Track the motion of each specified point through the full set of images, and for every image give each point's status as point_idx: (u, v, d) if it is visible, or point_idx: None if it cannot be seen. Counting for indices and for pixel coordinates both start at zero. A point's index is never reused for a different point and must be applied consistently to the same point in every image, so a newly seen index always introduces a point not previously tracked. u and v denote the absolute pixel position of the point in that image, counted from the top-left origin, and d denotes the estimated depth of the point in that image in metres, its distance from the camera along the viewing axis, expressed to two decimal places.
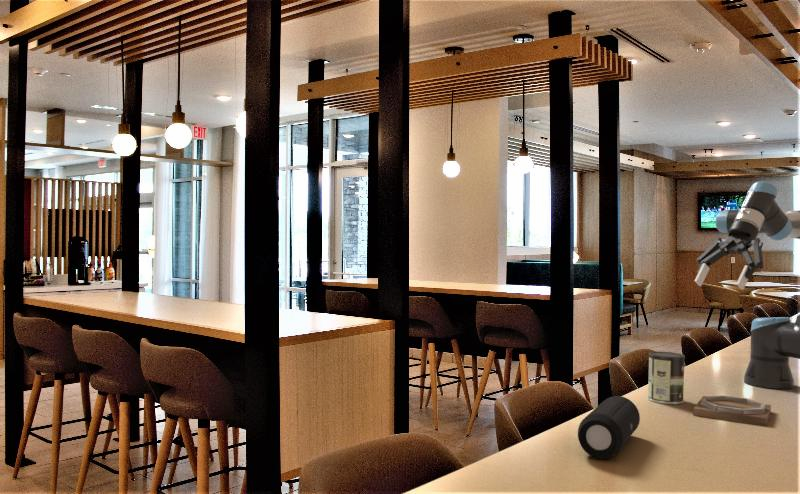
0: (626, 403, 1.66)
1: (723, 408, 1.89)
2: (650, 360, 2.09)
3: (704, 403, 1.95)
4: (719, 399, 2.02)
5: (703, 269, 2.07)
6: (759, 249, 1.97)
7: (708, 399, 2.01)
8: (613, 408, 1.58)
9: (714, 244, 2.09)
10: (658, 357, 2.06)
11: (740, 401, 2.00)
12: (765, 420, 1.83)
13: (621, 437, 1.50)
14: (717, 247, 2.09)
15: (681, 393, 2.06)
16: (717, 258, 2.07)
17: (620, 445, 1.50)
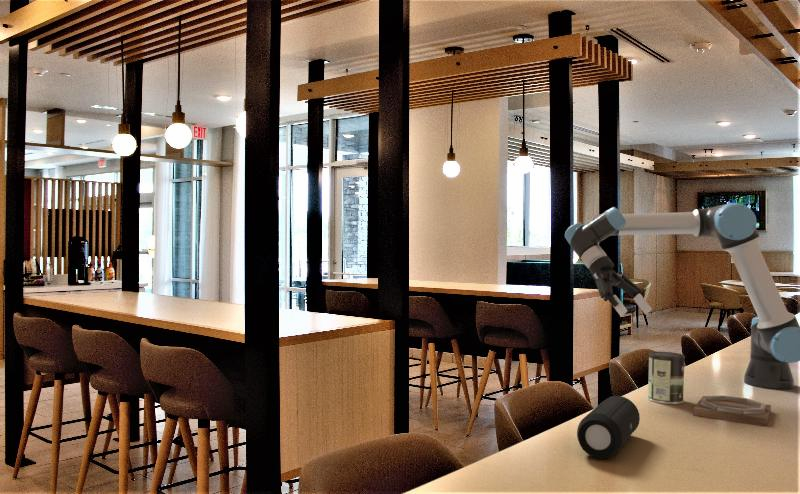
0: (626, 403, 1.66)
1: (723, 408, 1.89)
2: (650, 360, 2.09)
3: (704, 403, 1.95)
4: (719, 399, 2.02)
5: (637, 302, 2.24)
6: (597, 283, 2.19)
7: (708, 399, 2.01)
8: (613, 408, 1.58)
9: None
10: (658, 357, 2.06)
11: (740, 401, 2.00)
12: (765, 420, 1.83)
13: (620, 437, 1.50)
14: None
15: (681, 393, 2.06)
16: (628, 287, 2.25)
17: (619, 445, 1.50)
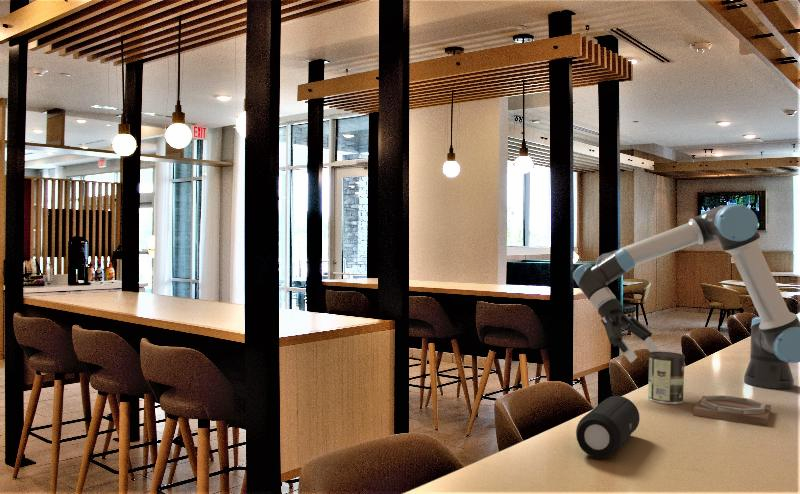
0: (626, 403, 1.66)
1: (723, 408, 1.89)
2: (650, 360, 2.09)
3: (704, 403, 1.95)
4: (719, 399, 2.02)
5: (647, 345, 2.20)
6: (606, 327, 2.16)
7: (708, 399, 2.01)
8: (612, 408, 1.59)
9: None
10: (658, 357, 2.06)
11: (740, 401, 2.00)
12: (765, 420, 1.83)
13: (619, 437, 1.50)
14: None
15: (681, 393, 2.06)
16: (637, 330, 2.21)
17: (618, 445, 1.50)
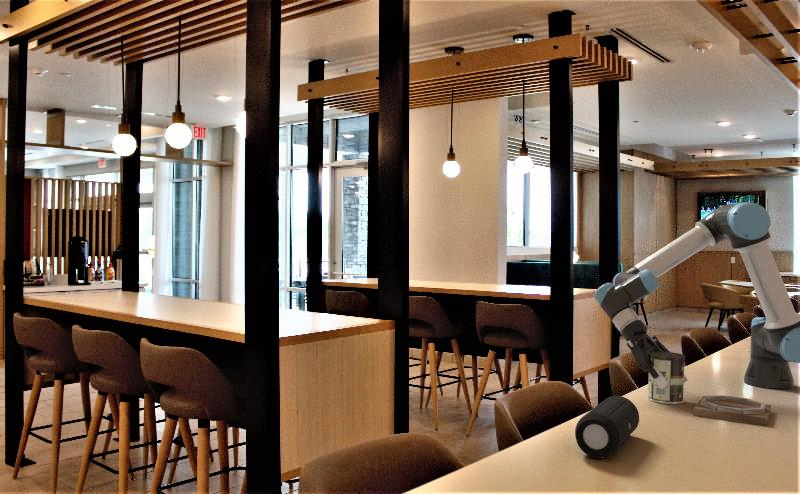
0: (625, 403, 1.66)
1: (723, 408, 1.89)
2: None
3: (704, 403, 1.95)
4: (719, 399, 2.02)
5: None
6: (634, 351, 2.10)
7: (708, 399, 2.01)
8: (611, 408, 1.59)
9: None
10: (658, 357, 2.06)
11: (740, 401, 2.00)
12: (765, 420, 1.83)
13: (618, 436, 1.50)
14: None
15: (681, 393, 2.06)
16: None
17: (617, 444, 1.50)
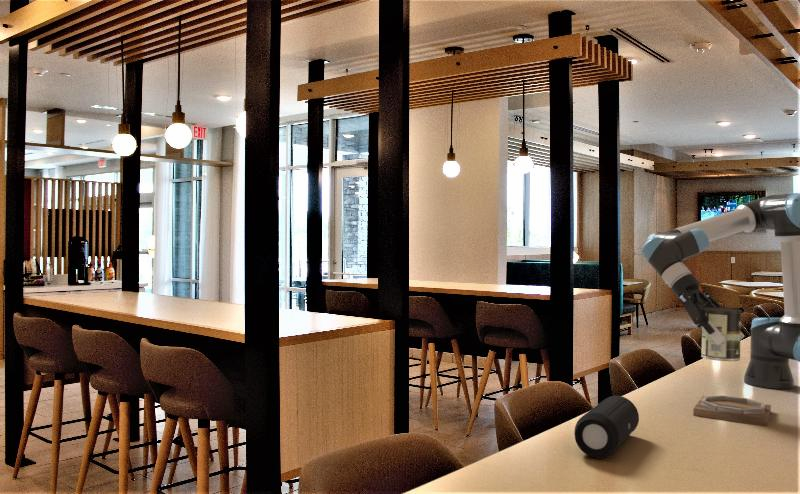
0: (625, 403, 1.66)
1: (723, 408, 1.89)
2: None
3: (704, 403, 1.95)
4: (719, 399, 2.02)
5: None
6: (686, 306, 1.97)
7: (708, 399, 2.01)
8: (610, 407, 1.59)
9: None
10: (713, 311, 1.93)
11: (740, 401, 2.00)
12: (765, 420, 1.83)
13: (617, 436, 1.50)
14: None
15: (738, 349, 1.93)
16: None
17: (616, 444, 1.50)
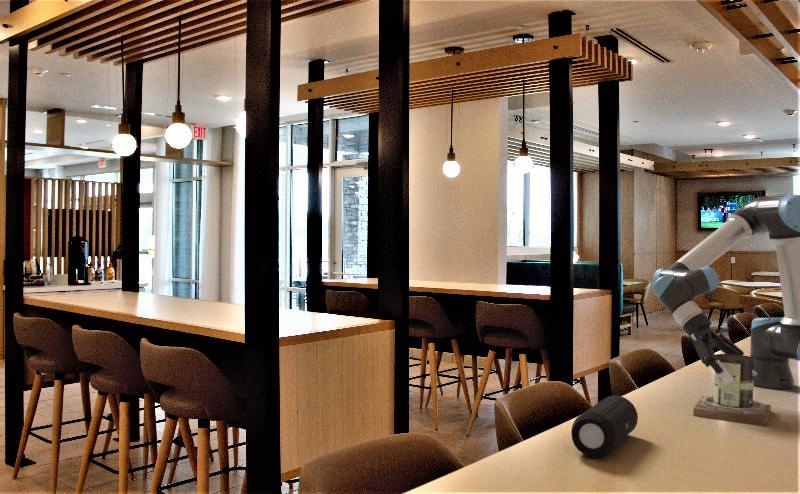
0: (623, 402, 1.66)
1: (723, 408, 1.89)
2: None
3: (704, 403, 1.95)
4: None
5: None
6: (696, 345, 1.96)
7: (708, 399, 2.01)
8: (608, 407, 1.59)
9: None
10: (726, 360, 1.91)
11: None
12: (765, 420, 1.83)
13: (614, 436, 1.50)
14: None
15: (751, 398, 1.92)
16: (727, 349, 2.01)
17: (613, 444, 1.50)
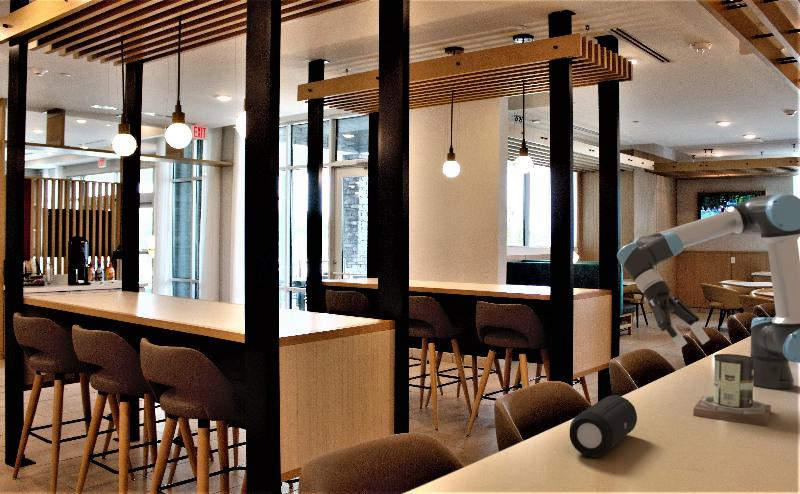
0: (622, 402, 1.66)
1: (723, 408, 1.89)
2: (716, 363, 1.95)
3: (704, 403, 1.95)
4: None
5: (694, 331, 2.12)
6: (654, 310, 2.07)
7: (708, 399, 2.01)
8: (606, 407, 1.59)
9: None
10: (726, 360, 1.92)
11: None
12: (765, 420, 1.83)
13: (611, 435, 1.51)
14: None
15: (751, 398, 1.92)
16: (684, 315, 2.12)
17: (610, 443, 1.51)
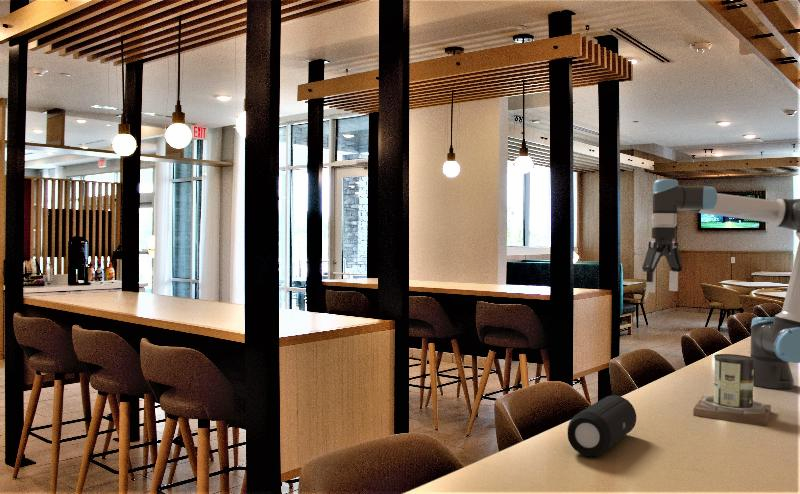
0: (621, 402, 1.66)
1: (723, 408, 1.89)
2: (716, 363, 1.95)
3: (704, 403, 1.95)
4: None
5: (670, 277, 2.30)
6: (649, 252, 2.21)
7: (708, 399, 2.01)
8: (605, 407, 1.59)
9: None
10: (726, 360, 1.92)
11: None
12: (765, 420, 1.83)
13: (609, 435, 1.51)
14: (673, 250, 2.29)
15: (751, 398, 1.92)
16: (672, 261, 2.28)
17: (608, 443, 1.51)
